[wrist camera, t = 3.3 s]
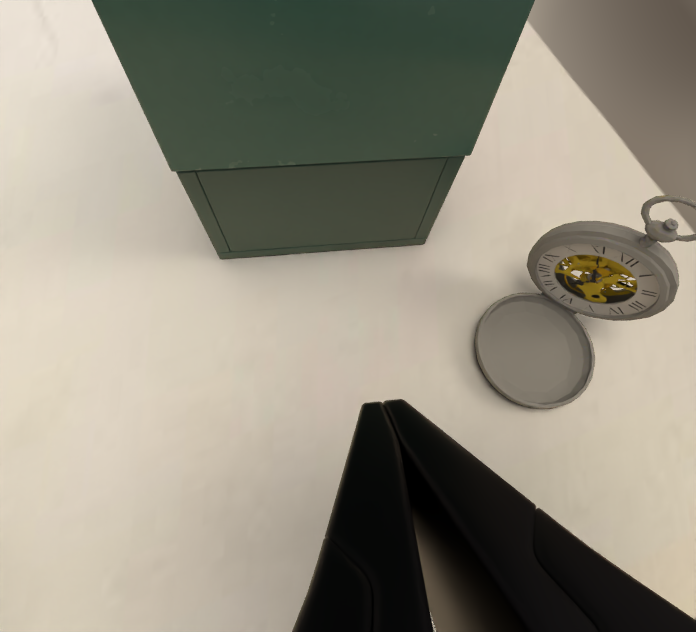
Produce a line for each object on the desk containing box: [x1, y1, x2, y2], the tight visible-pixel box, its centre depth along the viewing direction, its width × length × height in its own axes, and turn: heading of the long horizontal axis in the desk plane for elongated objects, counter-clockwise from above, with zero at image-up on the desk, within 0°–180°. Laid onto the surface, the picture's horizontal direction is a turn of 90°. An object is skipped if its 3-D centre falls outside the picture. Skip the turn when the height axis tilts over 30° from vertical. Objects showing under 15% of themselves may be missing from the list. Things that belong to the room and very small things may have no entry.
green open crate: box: [176, 156, 465, 259], centre depth 23 cm, size 14×13×8 cm
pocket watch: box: [475, 195, 696, 409], centre depth 19 cm, size 8×8×10 cm
